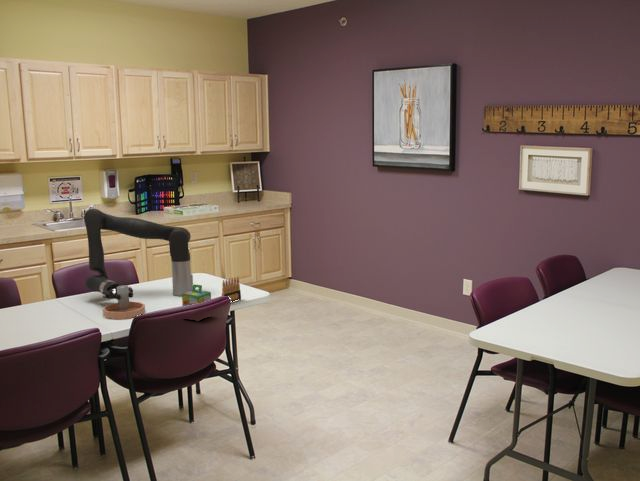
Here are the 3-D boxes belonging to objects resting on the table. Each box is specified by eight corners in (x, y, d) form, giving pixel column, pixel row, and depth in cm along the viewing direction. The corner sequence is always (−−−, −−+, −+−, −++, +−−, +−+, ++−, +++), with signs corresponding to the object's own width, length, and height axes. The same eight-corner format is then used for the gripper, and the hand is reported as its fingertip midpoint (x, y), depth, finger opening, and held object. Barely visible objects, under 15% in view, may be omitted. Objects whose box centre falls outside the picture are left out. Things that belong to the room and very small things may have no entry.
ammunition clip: (224, 305, 292) (223, 280, 290) (221, 304, 293) (220, 279, 291) (241, 300, 300) (240, 276, 298) (238, 299, 301) (237, 275, 299)
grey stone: (127, 306, 283) (125, 284, 281) (131, 308, 279) (130, 286, 278) (116, 308, 280) (114, 286, 278) (120, 310, 276) (119, 288, 274)
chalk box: (182, 319, 270) (180, 286, 267) (195, 314, 278) (194, 281, 275) (199, 322, 266) (197, 288, 263) (212, 316, 274) (211, 284, 271)
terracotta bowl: (134, 305, 292) (134, 299, 292) (151, 313, 279) (151, 307, 278) (97, 312, 281) (97, 306, 281) (113, 321, 268) (112, 315, 267)
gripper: (94, 283, 284) (109, 291, 271) (125, 278, 293) (140, 285, 280) (95, 299, 286) (110, 307, 273) (126, 294, 295) (141, 301, 282)
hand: (125, 296), depth 277 cm, fingers closed on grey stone, 5 cm apart
